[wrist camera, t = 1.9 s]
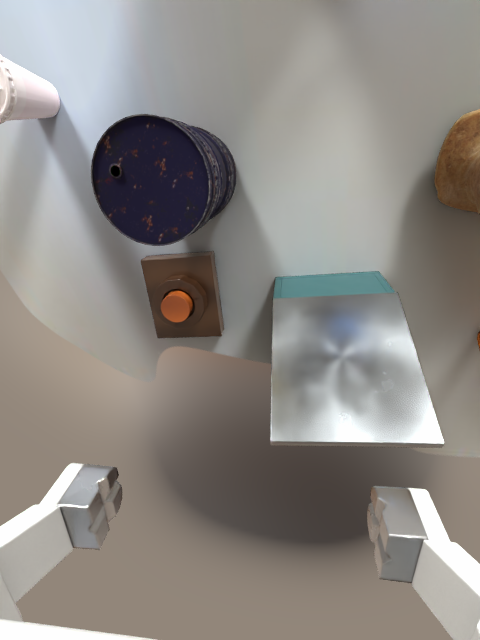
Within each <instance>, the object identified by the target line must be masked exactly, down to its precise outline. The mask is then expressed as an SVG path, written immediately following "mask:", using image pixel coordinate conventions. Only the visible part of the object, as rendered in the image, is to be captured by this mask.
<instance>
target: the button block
mask: <svg viewBox="0 0 480 640" xmlns="http://www.w3.org/2000/svg"><path fill="white" fill-rule="evenodd" d="M141 265H142V269H143V274H144V278H145V283H146V287H147V292H148V296H149V301H150V306H151V310H152V315H153V319H154V324H155V328H156V333H157V337H158V338H178V337H208V336H222V333H223V330H224V324H223V317H222V309H221V302H220V294H219V287H218V279H217V272H216V264H215V257H214V251H209V252H195V253H181V254H168V255H154V256H146V257H145V258H143V259H142V260H141ZM175 290H180V291H183V292H185V293H187V294H188V295H189V296H190V297H191V299H192V301H193V309H192V311H191V313H190V314H189V316H188V317H187V319H185V320H184V321H182V322H172V321H170V320H168V319H167V318H166V317H165V316H164V315H163V313H162V311H161V303H162V301H163V299H164V298H165V297H166V296H167V295H168V294H169V293H170V292H172V291H175Z"/></svg>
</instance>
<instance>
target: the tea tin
mask: <svg viewBox="0 0 480 640" xmlns="http://www.w3.org/2000/svg"><path fill="white" fill-rule="evenodd" d="M375 293H395V291H394V290H393V289H392V288H391V286H390V285H389V284H388V283H387V281H386V280H385V279H384V277H383V276H382V275H381V274H380V272H379V271H375V272H358V273H341V274H324V275H307V276H290V277H276V278H275V286H274V295H273V299H275V298H295V297H315V296H335V295H355V294H375Z"/></svg>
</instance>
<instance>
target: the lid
mask: <svg viewBox="0 0 480 640" xmlns="http://www.w3.org/2000/svg"><path fill="white" fill-rule="evenodd" d="M270 422H271V423H270V442H271V445H296V446H300V445H301V446H360V447H362V446H363V447H364V446H365V447H423V448H442V447H443V445H444V444H445V443H444V440H443V437H442V434H441V430H440V427H439V424H438V421H437V417H436V414H435V411H434V407H433V404H432V401H431V398H430V394H429V391H428V388H427V385H426V381H425V378H424V375H423V372H422V368H421V365H420V362H419V359H418V355H417V352H416V349H415V346H414V342H413V339H412V336H411V333H410V329H409V326H408V323H407V320H406V316H405V313H404V310H403V307H402V303H401V300H400V297H399V294H398V292H396V293H375V294H355V295H335V296H315V297H295V298H275V299H272V359H271V420H270Z"/></svg>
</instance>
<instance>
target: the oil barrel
mask: <svg viewBox="0 0 480 640" xmlns="http://www.w3.org/2000/svg"><path fill="white" fill-rule="evenodd" d="M91 180H92V186H93V191H94V194H95V197H96V200H97V203H98V205H99V207H100V209H101V211H102V212H103V214H104V215H105V217H106V218H107V220H108V221H109V222H110V223H111V224H112V225H113V226H114V227H115V228H116V229H117V230H118V231H119V232H120V233H122V234H123V235H125V236H126V237H128V238H130V239H132V240H134V241H136V242H139V243H142V244H145V245H152V246H163V245H169V244H173V243H175V242H178V241H180V240H182V239H184V238H185V237H187V236H189V235H190V234H192V233H194V232H196V231H197V230H198V229H199V228H201V227H202V226H203V225H205V224H206V223H207V222H208V221H209V220H210V219H212V218H213V217H215V216H216V215H217V214H218V213H220V212H221V211H222V210H223V208H224V207H225V206H226V205H227V204H228V202H229V201H230V199H231V197H232V195H233V193H234V190H235V186H236V167H235V163H234V160H233V157H232V155H231V153H230V151H229V149H228V148H227V147H226V145H225V144H224V143H223V142H222V141H221V140H220V139H219V138H217V137H216V136H215V135H213V134H211V133H210V132H208V131H206V130H204V129H201V128H198V127H194V126H189V125H187V124H185V123H183V122H179V121H176V120H173V119H170V118H166V117H159V116H156V115H148V114H139V115H132V116H129V117H125V118H123V119H121V120H119V121H117V122H116V123H114V124H113V125H112V126H110V127H109V128H108V129H107V130H106V132H105V133H104V134H103V135H102V137H101V138H100V140H99V142H98V143H97V146H96V148H95V151H94V154H93V159H92V165H91Z"/></svg>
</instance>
